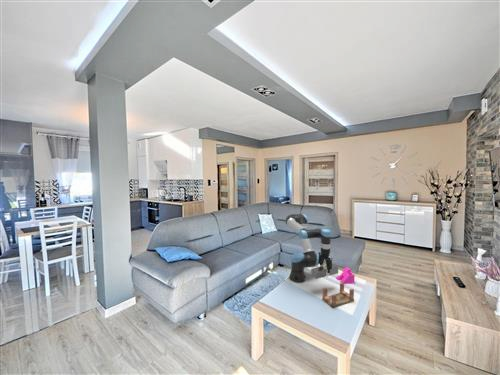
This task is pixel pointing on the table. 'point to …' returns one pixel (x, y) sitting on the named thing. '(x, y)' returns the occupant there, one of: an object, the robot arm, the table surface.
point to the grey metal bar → (323, 271)
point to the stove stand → (338, 297)
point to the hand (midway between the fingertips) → (324, 274)
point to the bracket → (346, 276)
